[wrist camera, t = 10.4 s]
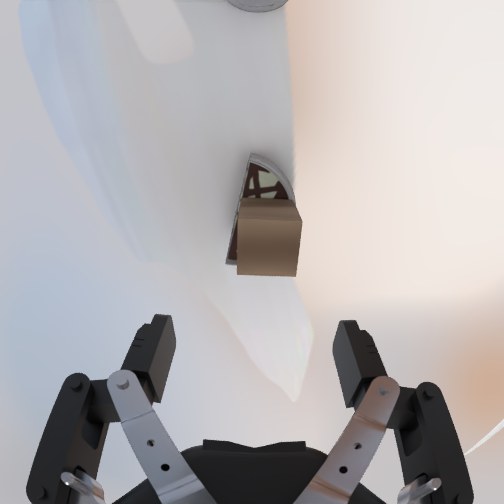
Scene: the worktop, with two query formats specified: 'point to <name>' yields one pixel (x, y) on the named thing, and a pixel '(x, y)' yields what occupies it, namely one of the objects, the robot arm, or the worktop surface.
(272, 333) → the worktop surface
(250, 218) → the walnut block
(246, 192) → the food container
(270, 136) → the worktop surface
